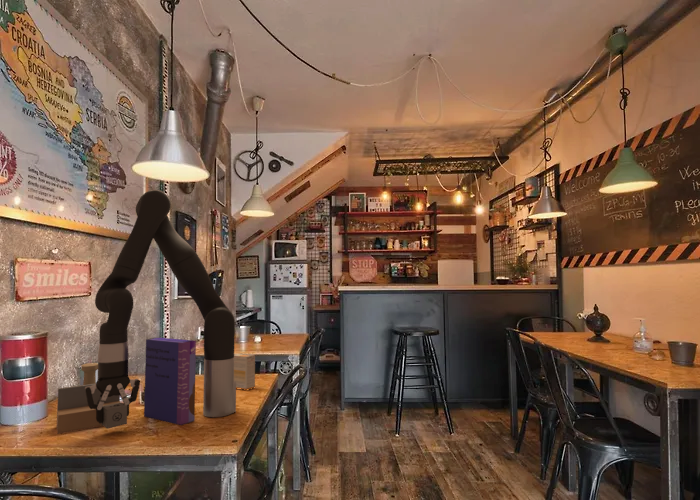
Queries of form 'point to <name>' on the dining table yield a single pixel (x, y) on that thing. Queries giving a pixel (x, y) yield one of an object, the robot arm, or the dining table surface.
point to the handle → (89, 373)
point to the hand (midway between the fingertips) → (112, 420)
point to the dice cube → (114, 415)
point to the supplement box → (244, 371)
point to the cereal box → (170, 380)
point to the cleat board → (78, 408)
